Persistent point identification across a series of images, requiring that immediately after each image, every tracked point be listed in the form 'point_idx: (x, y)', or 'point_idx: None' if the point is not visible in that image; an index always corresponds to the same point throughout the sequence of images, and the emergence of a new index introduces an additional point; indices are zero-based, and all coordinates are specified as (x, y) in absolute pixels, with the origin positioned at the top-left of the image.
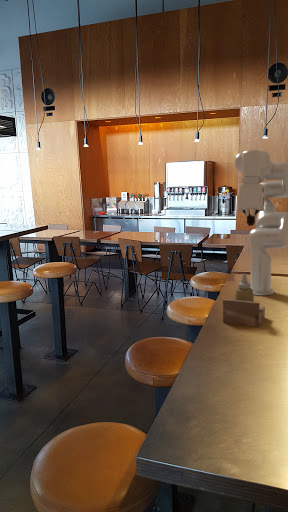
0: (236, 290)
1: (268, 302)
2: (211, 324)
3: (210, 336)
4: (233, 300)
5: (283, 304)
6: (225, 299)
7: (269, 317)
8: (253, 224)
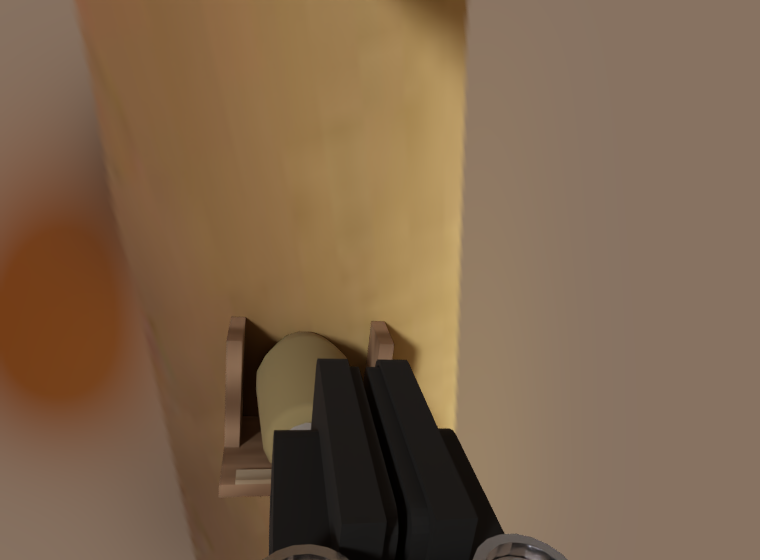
0: (271, 463)
1: (387, 77)
2: (190, 460)
3: (225, 551)
4: (270, 488)
5: (464, 95)
6: (229, 488)
7: (403, 312)
8: (405, 370)
